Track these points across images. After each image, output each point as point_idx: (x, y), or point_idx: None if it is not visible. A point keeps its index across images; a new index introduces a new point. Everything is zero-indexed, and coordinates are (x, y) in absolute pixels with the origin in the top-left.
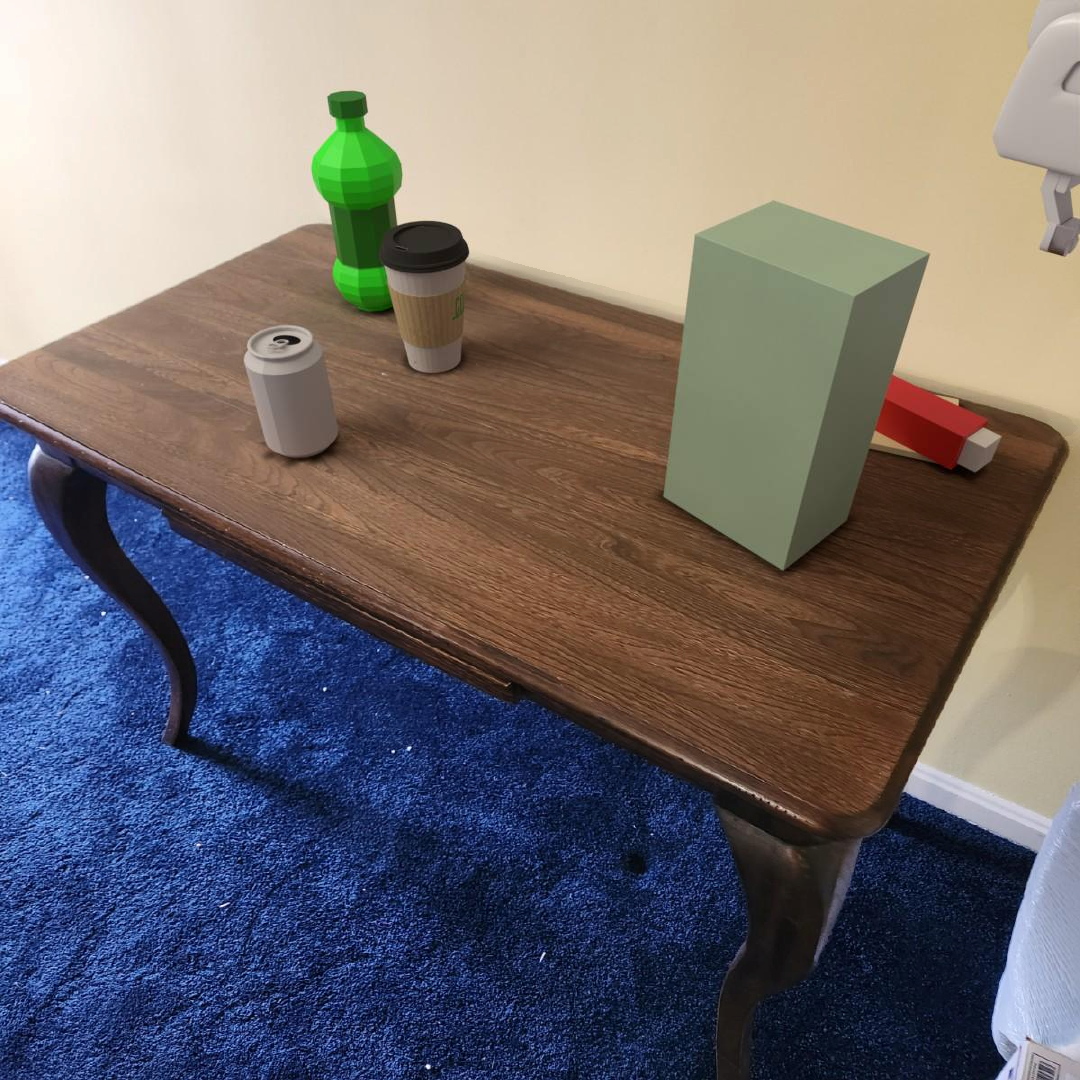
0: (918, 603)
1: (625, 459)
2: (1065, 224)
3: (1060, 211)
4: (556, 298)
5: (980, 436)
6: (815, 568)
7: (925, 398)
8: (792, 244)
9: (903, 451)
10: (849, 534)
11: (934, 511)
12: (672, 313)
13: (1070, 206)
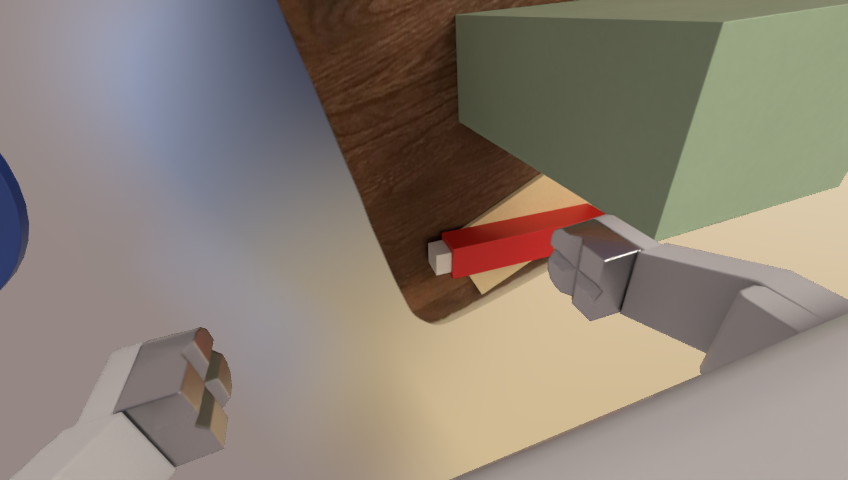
0: (360, 89)
1: None
2: (626, 267)
3: (671, 275)
4: None
5: (446, 262)
6: (439, 45)
7: (498, 260)
8: (818, 96)
9: (476, 220)
10: (447, 109)
11: (421, 191)
12: None
13: (650, 320)
